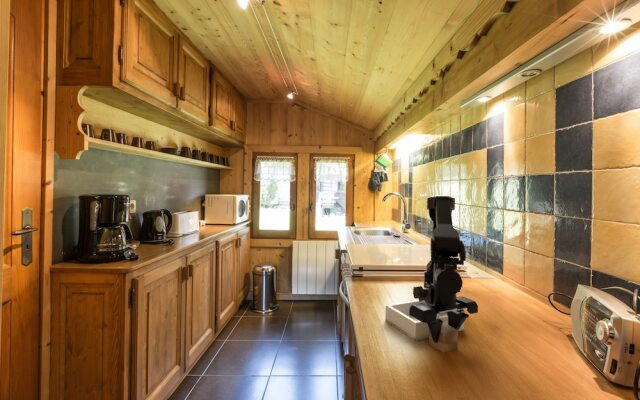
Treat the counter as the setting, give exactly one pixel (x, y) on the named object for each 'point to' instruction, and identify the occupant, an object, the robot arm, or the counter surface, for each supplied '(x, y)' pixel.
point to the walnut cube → (446, 339)
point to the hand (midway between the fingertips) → (443, 340)
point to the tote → (410, 320)
